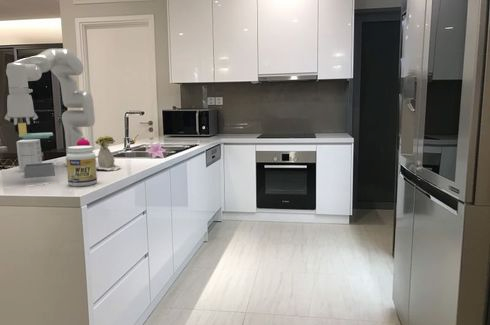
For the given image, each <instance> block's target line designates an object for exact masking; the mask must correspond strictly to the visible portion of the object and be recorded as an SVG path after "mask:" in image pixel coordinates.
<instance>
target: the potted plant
mask: <svg viewBox="0 0 490 325" xmlns="http://www.w3.org/2000/svg"><path fill="white" fill-rule="evenodd" d="M115 142H116V140H114V138H113V137H112V136H109V135H102V136H99V137H98V138H97V139H96V140H95V141H94V143H95V144H96V145H99V146H100V148H99V151H98V154H97V162H98V163H97V164H98V166H96V170H101V171H102V170H103V171H104V170H105V171H115V172H116V171H117V170H119V169H121V165H115V162H116V161H115V157H114V155H113V153H112V152H111V150H110V148H109V147H108V146H109V145H113V144H114V143H115Z"/></svg>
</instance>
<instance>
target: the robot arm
mask: <svg viewBox="0 0 490 325" xmlns="http://www.w3.org/2000/svg"><path fill="white" fill-rule="evenodd" d="M49 71H50V72H52V74H53V75H54V76H55V77H56V78H57V79H58V81H59V83H60V84H59V85H60V89H61V91H60V92H61V98H62V104H63V105H64V107H65V108H69V109H70V110H69V109H68V110H65V111H64V112H63V113H62V115H61V121H62V125H63V129H64V138H65V139H64V140H65V148H66V150H65V151H66V155H67V154H68V153H69V152H68V147H72V146H77V142H78V141H79V140H81V137H82V136H84V133H83V131H82V130H81V128H91V127H93V126H94V125H95V122H96V118H95V108H94V107H95V106H94V99H93V95H92V93H91V92H89V91H88V90H79V88H78V81H77V79H76V78H75V76H80V75H82V74H83V72H84V65H83V62H82V60H81V59H80V58H79V57H78V56H77V55H76V54H75V53H74V52H73V51H71V50H70V49H68V48H48V49H45V50H44V51H42V52H40V53H38V54H37V55H33V56H30V57H29V56H28V57H25V58H21V59H18V60H15V61H13V62H9V63H7V65H6V70H5V73H6V76H7V81H8V82H7V83H8V93H9V94H8V95H7V99H6V103H7V112H6V114H5V116H4V119H5V120H6V121H8V122H11V123H12V124H13V125H14V129H15V130H14V132H15V133H17V135H19V128H18V123H19V122H18V118H20V119H21V118H25V120H26V122H25V123H26V130H27V134H28V133H30V132H31V128H30V127H31V126H30V124H31V123H33V121H35V120H38V118H39V116H38V115H37V113H36V111H35V109H34V108H35V107H34V102H33V101H34V100H33V98H32V95H31V94H30V93H33V89H32V88H31V89H30V88H29V82H30V81H31V82H33V81H34V82H35V81H39V80H40V79H41V77H42V74H43V73H47V72H49ZM75 108H76V109H75ZM64 166H65V167H67V162H65V163H64Z"/></svg>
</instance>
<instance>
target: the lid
mask: <svg viewBox="0 0 490 325" xmlns="http://www.w3.org/2000/svg"><path fill="white" fill-rule="evenodd" d="M17 123H18V128H19V134H18V137H19V138H23V139H22V140H33V139H49V138H50V137H53V136H54V133H53V132H34V133H33V132H31V133H30V132H29V133H28V134H27V130H26V123H27V122H17Z"/></svg>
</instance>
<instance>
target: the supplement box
mask: <svg viewBox="0 0 490 325" xmlns="http://www.w3.org/2000/svg"><path fill="white" fill-rule="evenodd" d="M41 146H42V145H41V138H36V139H20V140H18V141H16V151H17V154H16V155H17V160H18V162H17V163H18V170H19V173H24V165H25V164H39V163H43V156H42V147H41Z"/></svg>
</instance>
